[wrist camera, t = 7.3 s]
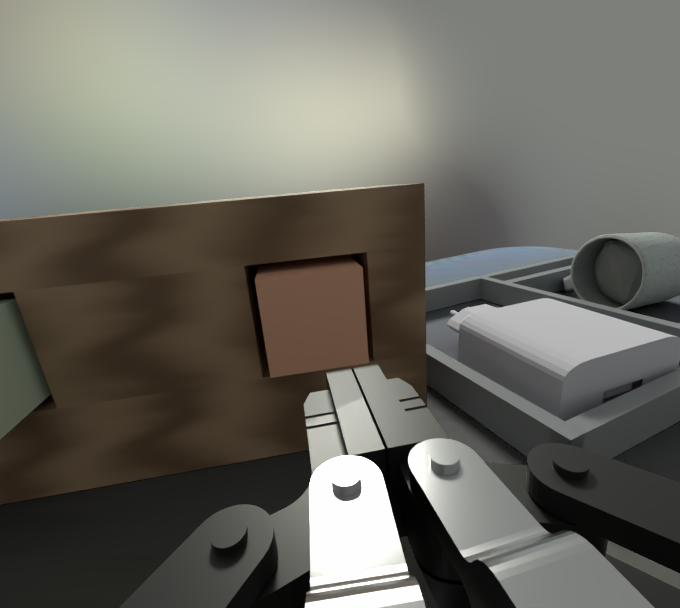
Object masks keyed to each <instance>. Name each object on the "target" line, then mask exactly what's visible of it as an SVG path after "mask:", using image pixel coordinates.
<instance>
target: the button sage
mask: <svg viewBox="0 0 680 608" xmlns="http://www.w3.org/2000/svg"><path fill="white" fill-rule="evenodd" d="M49 395H51V391H50V389H49V386H48V383H47V381H46V378H45V375H44V373H43V370H42V367H41V365H40V362H39V359H38V357H37V354H36V351H35V349H34V346H33V343H32V341H31V338H30V335H29V333H28V330H27V327H26V325H25V322H24V319H23V317H22V314H21V311H20V309H19V306H18V303H17V301H16V298H14V299H5V300H0V439H1V438H2V437H4V436H5V435H6V434H7V433H8V432H9V431H10V430H11V429H12V428H14V427H15V426H16V425H17V424H18V423H19V422H20V421H21V420H23V419H24V418H25V417H26V416H27V415H28V414H29V413H30V412H32V411H33V410H34V409H35V408H36V407H37V406H38V405H39V404H40V403H42V402H43V401H44V400H45V399H46V398H47V397H48V396H49Z"/></svg>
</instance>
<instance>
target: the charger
mask: <svg viewBox="0 0 680 608" xmlns="http://www.w3.org/2000/svg"><path fill="white" fill-rule="evenodd" d="M450 314H452V315H454V316H453V317H452V318H450V320H449V321H448V323H447V325H448V326H449V327H450V328H451V329H452V330H454V331H456V332H458V333H459V361H458V362H460V363H462V364H464V365H466V366H467V367H469V368H471V369H473V370H474V371H476V372H478V373H480V374H482V375H483V376H485V377H487V378H489V379H490V380H492V381H494V382H496V383H498V384H499V385H501V386H503V387H505V388H506V389H508V390H510V391H512V392H514V393H515V394H517V395H519V396H521V397H522V398H524V399H526V400H528V401H530V402H531V403H533V404H535V405H537V406H538V407H540V408H542V409H544V410H546V411H547V412H549V413H551V414H553V415H554V416H556V417H558V418H560V419H562V420H563V421H567V420H569V419H571V418H573V417H576V416H578V415H580V414H582V413H584V412H586V411H589V410H591V409H593V408H595V407H597V406H599V405H602V404H604V403H606V402H608V401H610V400H612V399H615V398H617V397H619V396H621V395H623V394H626V393H628V392H630V391H632V390H634V389H636V388H639V387H641V386H643V385H645V384H647V383H649V382H652V381H654V380H656V379H658V378H660V377H662V376H665V375H667V374H669V373H671V372H673V371H676V370H678V365H679V361H680V338H679V337H677V336H673V335H670V334H667V333H663V332H660V331H657V330H653V329H650V328H647V327H643V326H640V325H637V324H633V323H630V322H627V321H623V320H620V319H617V318H613V317H610V316H607V315H603V314H600V313H597V312H593V311H590V310H587V309H583V308H580V307H577V306H573V305H570V304H567V303H563V302H560V301H557V300H553V299H550V298H542V299H537V300H532V301H528V302H523V303H518V304H514V305H509V306H505V307H500V308H495V307H493V306H490V305H487V304H484V305H479V306H474V307H466V308H465V309H462V310H461V311H460V312H457V311H454V310H451V311H450Z"/></svg>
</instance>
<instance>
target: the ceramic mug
mask: <svg viewBox="0 0 680 608" xmlns="http://www.w3.org/2000/svg"><path fill="white" fill-rule="evenodd" d="M570 273H571V275H570V276H567V277H565V278H563V284H564V289H565V291H575V293H576V294H577V296H578V297H579V298H580V299H581V300H584V301H588V302H593V303H597V304H601V305H605V306H609V307H613V308H617V309H621V310H628V309H633V308H637V307H641V306H645V305H649V304H654V303H659V302H663V301H666V300H669V299H671V298H673V297H675V296H677V295H679V294H680V238H677V237H676V236H672V235H669V234H664V233H658V232H647V233H628V234H606V235H600V236H598V237H595V238H593V239H591V240H589V241H588V242H586V243H585V244H584V245H583V246H582V247H581V248H580V249H579V250H578V251H577V253H576V255H575V256H574V258H573V261H572V265H571V272H570Z"/></svg>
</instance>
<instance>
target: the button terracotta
mask: <svg viewBox="0 0 680 608" xmlns="http://www.w3.org/2000/svg"><path fill="white" fill-rule="evenodd" d="M255 285H256V291H257V297H258V304H259V310H260V316H261V322H262V328H263V335H264V341H265V347H266V353H267V359H268V366H269V372H270V378H273V377H280V376H286V375H293V374H300V373H306V372H313V371H320V370H326V369H333V368H339V367H346V366H353V365H359V364H366V363H369V357H368V342H367V327H366V311H365V296H364V281H363V267H362V266H360V265H359V264H358V263H357V262H356V261H355V260H354V259H353V258H352V257H351V256H350V255H349V254H346V255H337V256H328V257H319V258H310V259H301V260H292V261H283V262H274V263H265V264H259V266H258V270H257V274H256V277H255Z"/></svg>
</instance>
